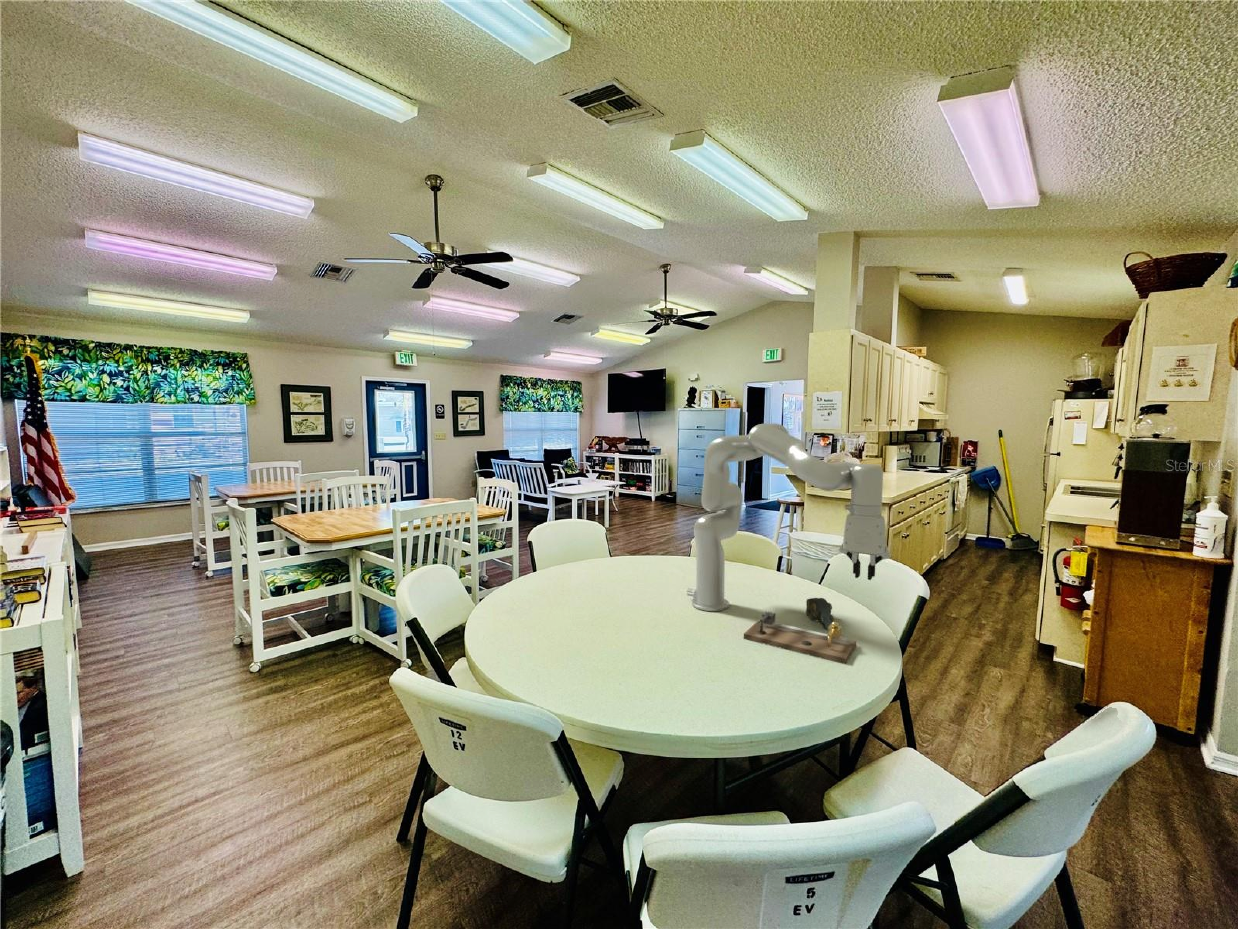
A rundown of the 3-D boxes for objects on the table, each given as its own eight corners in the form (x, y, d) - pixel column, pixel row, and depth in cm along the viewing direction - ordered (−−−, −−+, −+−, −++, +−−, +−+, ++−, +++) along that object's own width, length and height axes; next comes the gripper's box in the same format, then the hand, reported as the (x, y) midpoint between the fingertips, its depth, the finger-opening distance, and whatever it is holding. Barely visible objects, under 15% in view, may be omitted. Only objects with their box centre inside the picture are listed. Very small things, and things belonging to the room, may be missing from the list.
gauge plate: (743, 638, 151) (743, 621, 150) (759, 624, 161) (759, 607, 161) (845, 664, 134) (846, 644, 134) (856, 646, 145) (856, 628, 145)
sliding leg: (823, 645, 141) (823, 629, 140) (830, 635, 147) (830, 620, 147) (834, 648, 139) (835, 631, 138) (841, 638, 145) (841, 622, 145)
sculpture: (839, 631, 155) (839, 608, 155) (817, 630, 156) (817, 608, 155) (824, 615, 169) (825, 594, 168) (804, 614, 169) (805, 594, 169)
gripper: (830, 509, 139) (829, 576, 141) (897, 515, 130) (895, 586, 131) (837, 505, 145) (835, 569, 147) (902, 511, 136) (899, 579, 138)
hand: (863, 577), depth 139 cm, fingers open, 2 cm apart
